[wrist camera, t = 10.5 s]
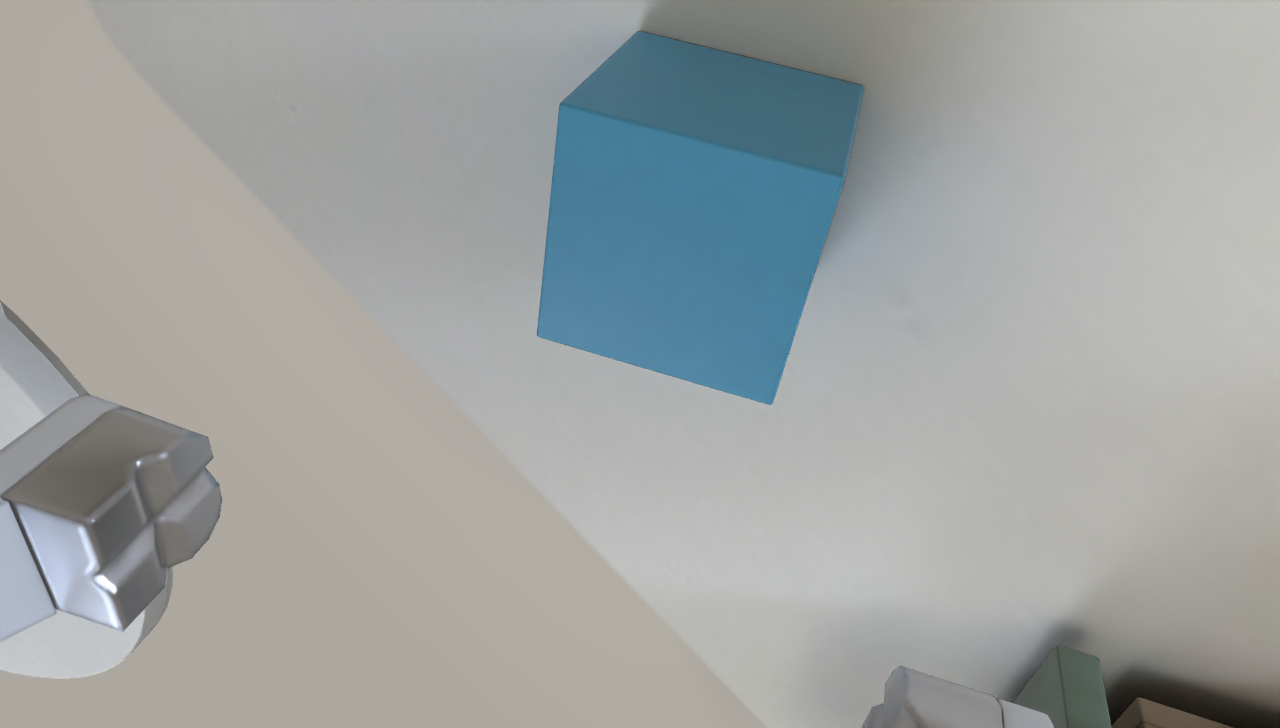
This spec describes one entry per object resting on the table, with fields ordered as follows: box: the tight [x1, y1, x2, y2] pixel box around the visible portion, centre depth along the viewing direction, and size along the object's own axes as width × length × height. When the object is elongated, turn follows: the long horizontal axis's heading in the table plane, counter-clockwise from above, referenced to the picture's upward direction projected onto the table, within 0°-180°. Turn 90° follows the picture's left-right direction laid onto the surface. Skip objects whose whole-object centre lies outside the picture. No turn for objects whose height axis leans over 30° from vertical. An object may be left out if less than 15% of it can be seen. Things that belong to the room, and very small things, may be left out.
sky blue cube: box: [537, 31, 864, 405], centre depth 18 cm, size 5×5×5 cm
